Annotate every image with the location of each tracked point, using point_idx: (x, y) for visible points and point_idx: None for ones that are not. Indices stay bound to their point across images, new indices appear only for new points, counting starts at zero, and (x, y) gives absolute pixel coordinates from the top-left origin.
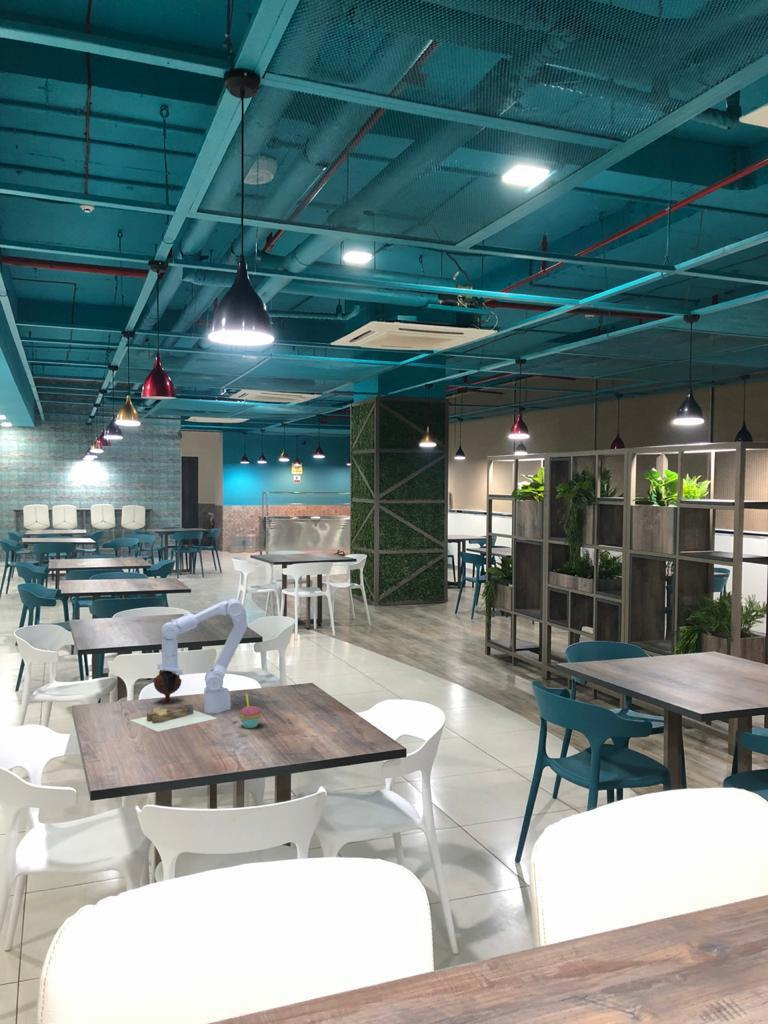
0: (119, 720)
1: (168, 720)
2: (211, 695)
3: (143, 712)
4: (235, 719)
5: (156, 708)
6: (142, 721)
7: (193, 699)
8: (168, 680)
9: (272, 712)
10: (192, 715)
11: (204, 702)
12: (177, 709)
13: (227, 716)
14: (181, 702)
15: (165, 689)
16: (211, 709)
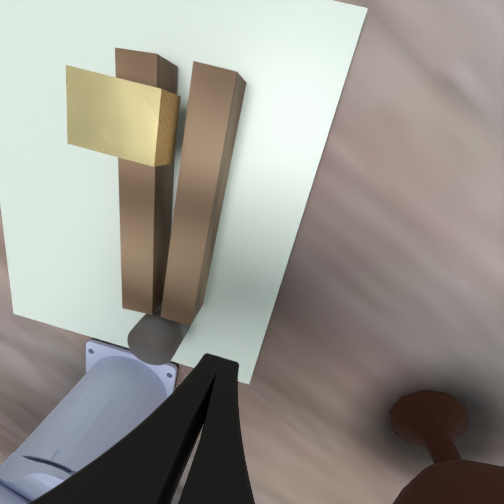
0: (496, 14)
1: None
2: (30, 439)
3: (455, 261)
4: (3, 351)
5: (131, 95)
6: (253, 44)
7: (368, 500)
8: (102, 458)
9: (5, 449)
10: None
11: (116, 404)
12: (166, 280)
13: (57, 369)
14: (385, 458)
15: (441, 483)
16: (88, 374)
